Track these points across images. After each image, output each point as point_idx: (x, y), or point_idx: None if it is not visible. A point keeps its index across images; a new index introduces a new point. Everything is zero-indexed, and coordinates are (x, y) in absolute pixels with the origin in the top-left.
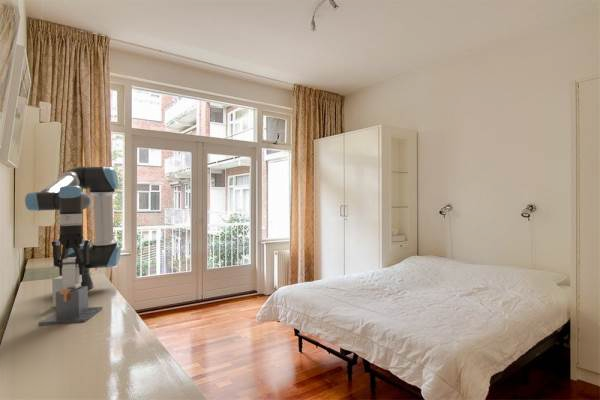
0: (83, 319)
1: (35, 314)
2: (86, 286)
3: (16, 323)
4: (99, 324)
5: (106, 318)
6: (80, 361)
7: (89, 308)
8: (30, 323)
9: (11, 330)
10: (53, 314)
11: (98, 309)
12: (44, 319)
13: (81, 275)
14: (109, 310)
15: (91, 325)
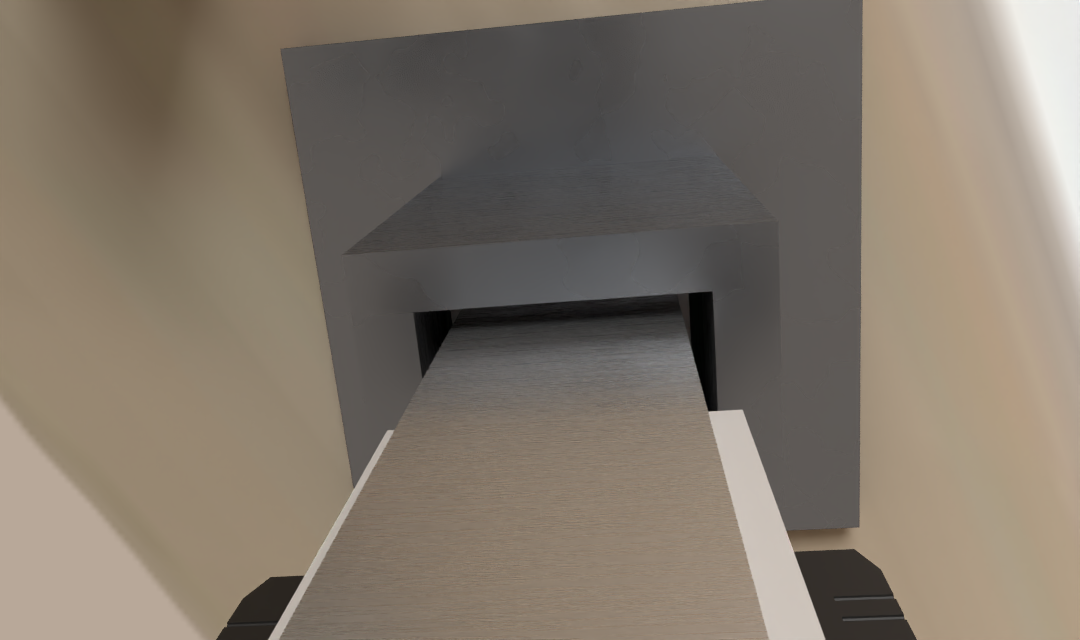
0: (835, 527)
1: (18, 119)
2: (779, 278)
3: (72, 433)
4: (1050, 616)
5: (1063, 430)
6: None
7: (695, 67)
8: (233, 459)
9: (203, 631)
10: (335, 280)
11: (860, 144)
12: (357, 456)
13: (772, 506)
14: (988, 85)
15: (970, 631)
